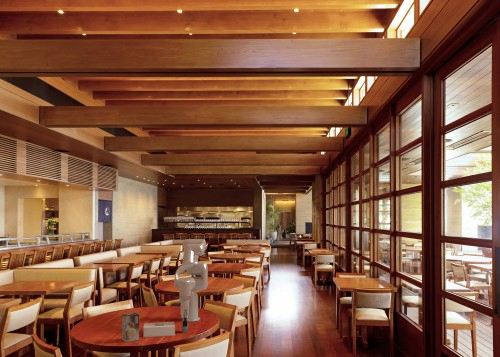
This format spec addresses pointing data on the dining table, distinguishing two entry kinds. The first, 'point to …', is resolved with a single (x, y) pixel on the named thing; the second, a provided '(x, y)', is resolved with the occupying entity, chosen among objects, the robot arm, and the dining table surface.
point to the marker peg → (184, 329)
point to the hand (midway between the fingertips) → (184, 325)
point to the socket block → (159, 329)
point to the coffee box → (130, 327)
